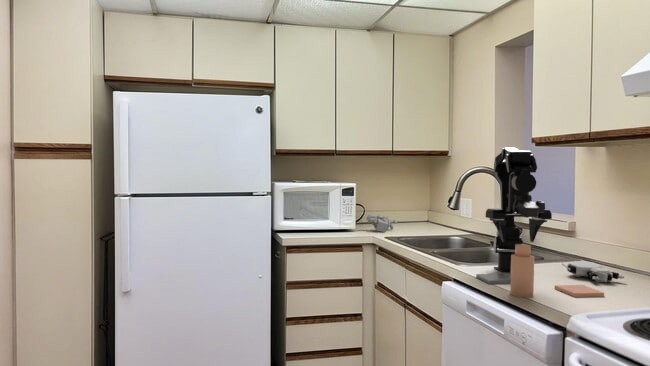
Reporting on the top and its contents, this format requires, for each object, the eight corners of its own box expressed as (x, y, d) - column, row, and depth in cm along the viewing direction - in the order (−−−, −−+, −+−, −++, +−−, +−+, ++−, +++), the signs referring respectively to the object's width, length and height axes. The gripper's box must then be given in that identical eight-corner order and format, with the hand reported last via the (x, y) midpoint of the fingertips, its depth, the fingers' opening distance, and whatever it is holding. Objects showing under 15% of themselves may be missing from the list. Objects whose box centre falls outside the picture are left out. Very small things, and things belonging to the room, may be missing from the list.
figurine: (395, 240, 267) (367, 237, 260) (389, 223, 276) (362, 220, 269) (403, 228, 260) (375, 225, 253) (397, 212, 269) (370, 208, 262)
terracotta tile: (554, 288, 138) (554, 285, 138) (582, 288, 139) (582, 284, 139) (574, 296, 129) (574, 293, 129) (604, 296, 130) (604, 292, 130)
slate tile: (476, 277, 152) (476, 274, 152) (502, 276, 153) (502, 273, 153) (489, 283, 143) (489, 280, 143) (516, 283, 144) (516, 280, 144)
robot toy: (626, 286, 146) (590, 272, 160) (628, 272, 145) (591, 259, 160) (593, 288, 143) (559, 273, 158) (594, 273, 143) (560, 260, 157)
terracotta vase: (506, 291, 133) (507, 243, 133) (525, 291, 134) (527, 243, 134) (517, 297, 127) (518, 247, 127) (537, 297, 128) (539, 246, 128)
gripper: (502, 192, 134) (501, 246, 134) (563, 192, 136) (562, 246, 136) (485, 190, 145) (484, 240, 145) (542, 191, 147) (540, 240, 147)
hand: (517, 241), depth 143 cm, fingers open, 9 cm apart
